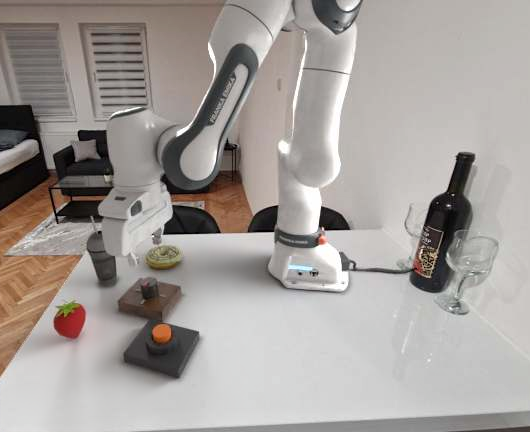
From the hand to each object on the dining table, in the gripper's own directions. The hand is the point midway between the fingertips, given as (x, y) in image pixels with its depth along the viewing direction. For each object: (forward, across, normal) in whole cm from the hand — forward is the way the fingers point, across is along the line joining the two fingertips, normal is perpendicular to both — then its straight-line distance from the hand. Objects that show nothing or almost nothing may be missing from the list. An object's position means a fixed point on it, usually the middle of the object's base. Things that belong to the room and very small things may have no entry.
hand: (146, 253), depth 66 cm
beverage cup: (+17, -7, -19) cm, 26 cm away
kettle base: (+17, +9, +8) cm, 20 cm away
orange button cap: (+13, +9, +8) cm, 18 cm away
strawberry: (+17, +12, -12) cm, 24 cm away
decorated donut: (+17, -21, -9) cm, 28 cm away
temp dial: (+13, -3, -3) cm, 14 cm away
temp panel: (+16, -3, -3) cm, 17 cm away
